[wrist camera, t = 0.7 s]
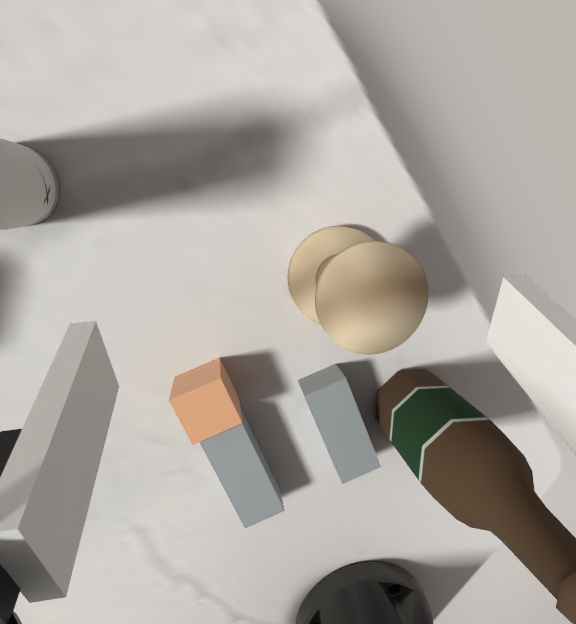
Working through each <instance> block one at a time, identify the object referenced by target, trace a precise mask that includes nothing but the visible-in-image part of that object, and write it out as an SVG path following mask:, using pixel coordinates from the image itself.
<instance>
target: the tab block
mask: <svg viewBox="0 0 576 624" xmlns="http://www.w3.org/2000/svg"><path fill="white" fill-rule="evenodd" d="M169 401H170V403H171V405H172V407H173V409H174V411H175V412H176V414H177V416H178V418H179V420H180V422H181V424H182V426H183V428H184V429H185V431H186V433H187V435H188V437H189V439H190V441H191V443H192V444H193V445H194V444H196V443H198V442H201V441H203V440H205V439H208V438H210V437H212V436H214V435H217V434H219V433H221V432H223V431H226V430H228V429H230V428H232V427H235V426H237V425H239V424H241V423H242V416H241V408H240V400H239V397H238V394H237V392H236V390H235V388H234V386H233V384H232V382H231V380H230V378H229V376H228V373H227V371H226V369H225V367H224V365H223V363H222V361H221V359H220V358H218V359H215V360H213V361H211V362H208V363H206V364H204V365H201V366H199V367H197V368H194V369H192V370H190V371H188V372H185V373H183V374H181V375H178V376H176V377H174V381H173V385H172V390H171V394H170V398H169Z"/></svg>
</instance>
